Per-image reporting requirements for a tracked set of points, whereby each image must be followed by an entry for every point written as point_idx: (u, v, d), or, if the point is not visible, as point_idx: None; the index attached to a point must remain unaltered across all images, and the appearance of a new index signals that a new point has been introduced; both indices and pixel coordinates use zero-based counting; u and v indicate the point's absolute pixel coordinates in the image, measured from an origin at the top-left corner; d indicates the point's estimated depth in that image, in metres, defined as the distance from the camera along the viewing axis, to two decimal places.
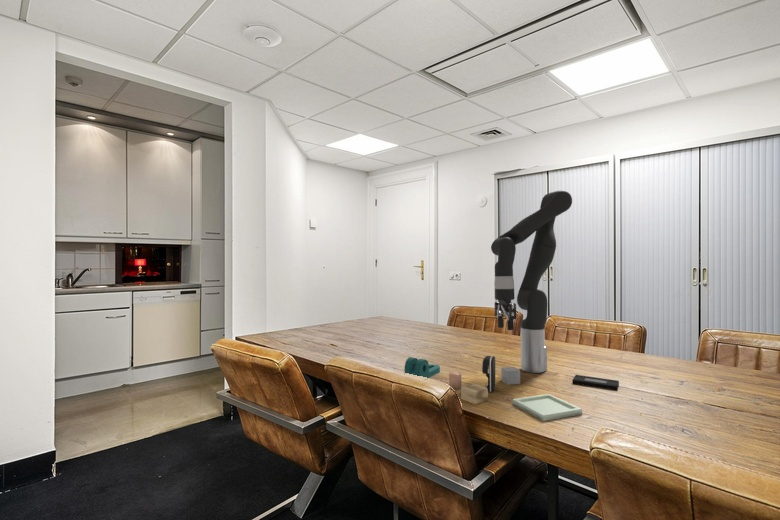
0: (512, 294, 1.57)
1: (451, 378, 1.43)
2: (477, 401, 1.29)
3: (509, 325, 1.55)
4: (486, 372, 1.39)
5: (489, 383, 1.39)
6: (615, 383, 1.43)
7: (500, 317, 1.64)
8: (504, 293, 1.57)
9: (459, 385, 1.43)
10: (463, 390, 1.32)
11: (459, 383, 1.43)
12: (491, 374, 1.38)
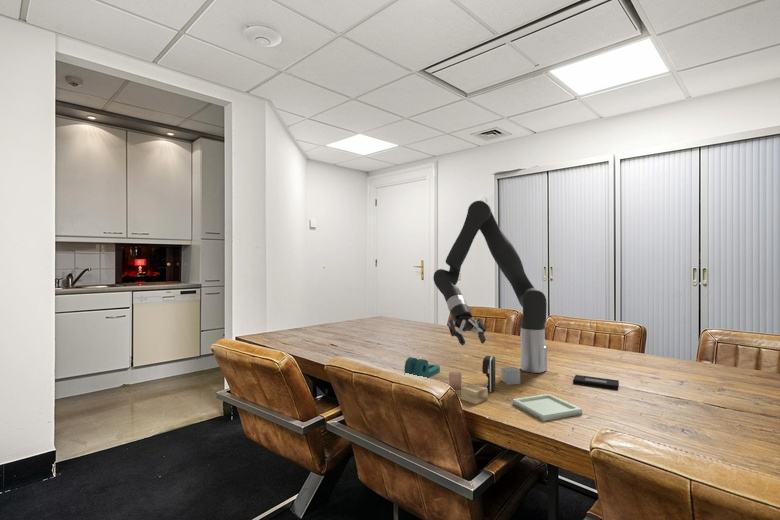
0: (455, 311, 1.58)
1: (451, 378, 1.43)
2: (478, 401, 1.29)
3: None
4: (486, 372, 1.39)
5: (489, 383, 1.39)
6: (615, 383, 1.43)
7: (479, 333, 1.55)
8: None
9: (459, 385, 1.43)
10: (463, 390, 1.32)
11: (459, 383, 1.43)
12: (491, 374, 1.38)
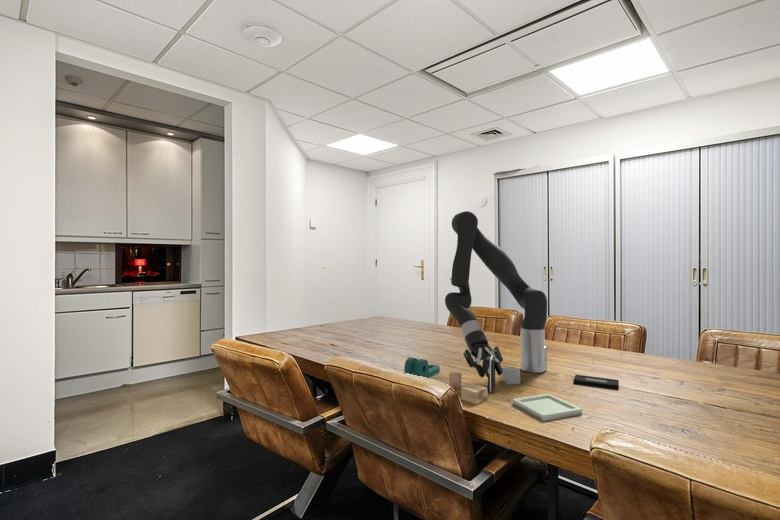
0: (470, 339, 1.48)
1: (451, 378, 1.43)
2: (478, 401, 1.29)
3: None
4: (486, 372, 1.39)
5: (489, 383, 1.39)
6: (615, 382, 1.44)
7: (495, 363, 1.44)
8: (466, 343, 1.50)
9: (459, 385, 1.43)
10: (463, 390, 1.32)
11: (459, 383, 1.43)
12: (491, 374, 1.38)
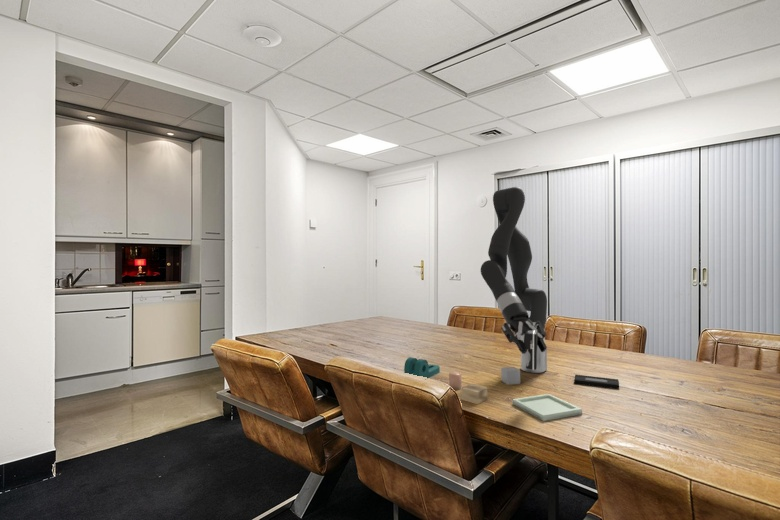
0: (509, 312, 1.32)
1: (451, 378, 1.43)
2: (479, 401, 1.29)
3: None
4: (528, 347, 1.23)
5: (532, 360, 1.23)
6: (616, 382, 1.44)
7: None
8: (504, 317, 1.35)
9: (459, 385, 1.43)
10: (463, 391, 1.32)
11: (459, 383, 1.43)
12: (534, 350, 1.23)
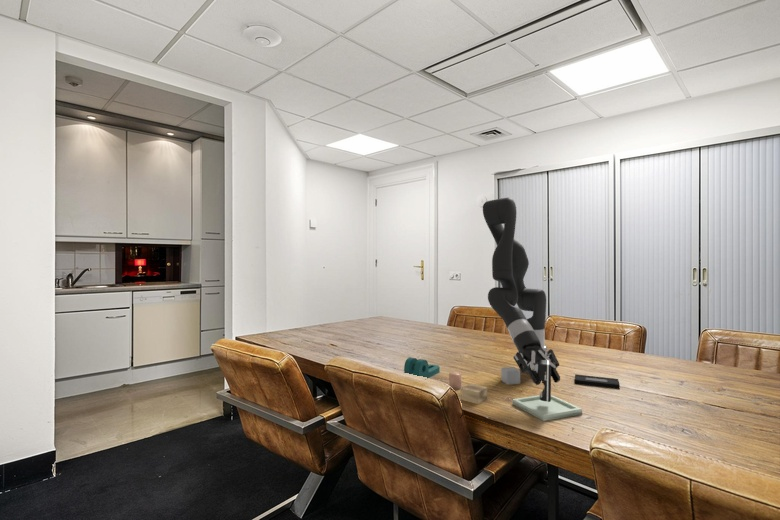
0: (521, 340, 1.29)
1: (451, 378, 1.43)
2: (479, 401, 1.29)
3: None
4: (543, 379, 1.20)
5: (546, 392, 1.20)
6: (616, 381, 1.45)
7: None
8: (515, 345, 1.31)
9: (459, 385, 1.43)
10: (463, 391, 1.31)
11: (459, 383, 1.43)
12: (549, 381, 1.19)
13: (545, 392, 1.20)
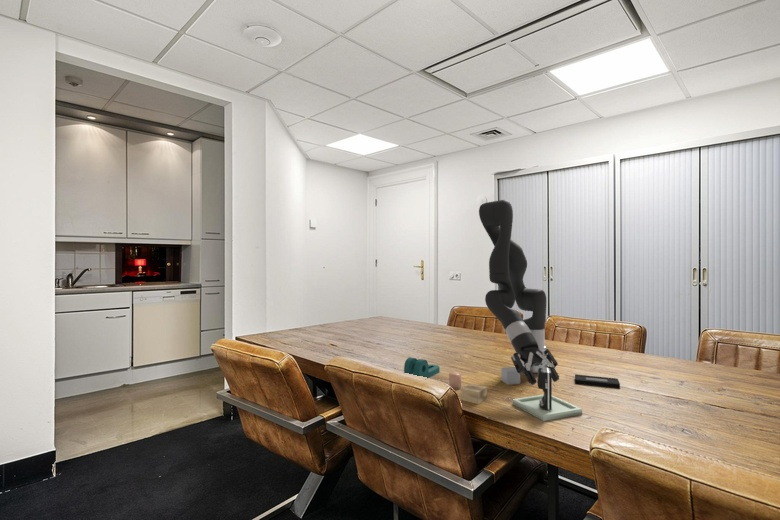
0: (519, 342, 1.31)
1: (451, 378, 1.43)
2: (480, 401, 1.29)
3: None
4: (543, 387, 1.20)
5: (547, 400, 1.20)
6: (616, 381, 1.45)
7: None
8: (513, 346, 1.33)
9: (459, 385, 1.43)
10: (463, 391, 1.31)
11: (459, 383, 1.43)
12: (549, 389, 1.19)
13: (546, 400, 1.20)
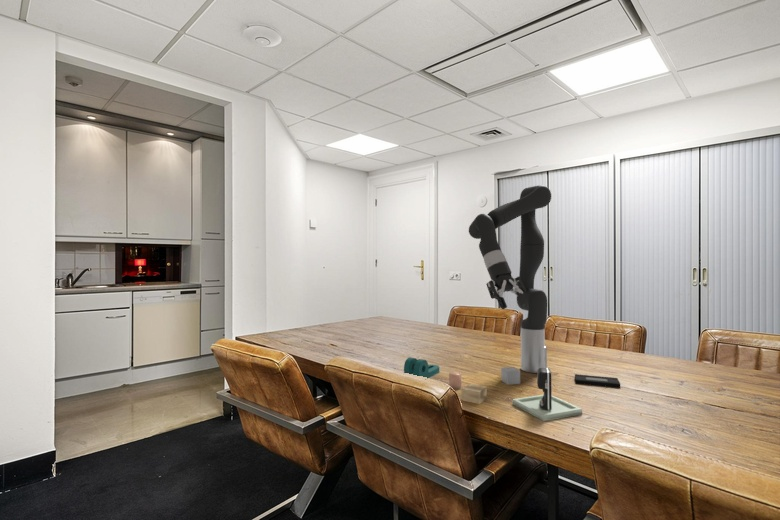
0: (495, 270, 1.42)
1: (451, 378, 1.43)
2: (480, 401, 1.29)
3: None
4: (543, 387, 1.20)
5: (547, 400, 1.20)
6: (616, 381, 1.46)
7: (518, 294, 1.44)
8: (489, 273, 1.45)
9: (459, 385, 1.43)
10: (464, 391, 1.31)
11: (459, 383, 1.43)
12: (549, 389, 1.19)
13: (546, 400, 1.20)
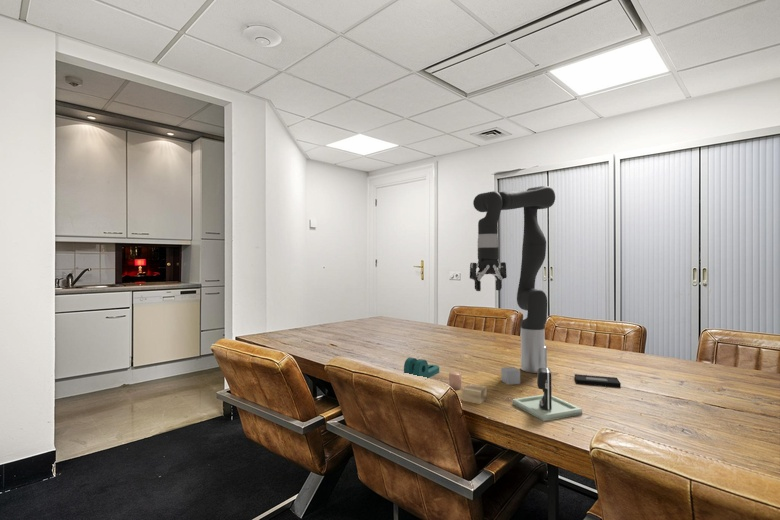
0: (483, 253, 1.46)
1: (451, 378, 1.43)
2: (481, 401, 1.29)
3: None
4: (543, 387, 1.20)
5: (547, 400, 1.20)
6: (616, 380, 1.46)
7: (497, 279, 1.50)
8: None
9: (459, 385, 1.43)
10: (464, 391, 1.31)
11: (459, 383, 1.43)
12: (549, 389, 1.19)
13: (546, 400, 1.20)
